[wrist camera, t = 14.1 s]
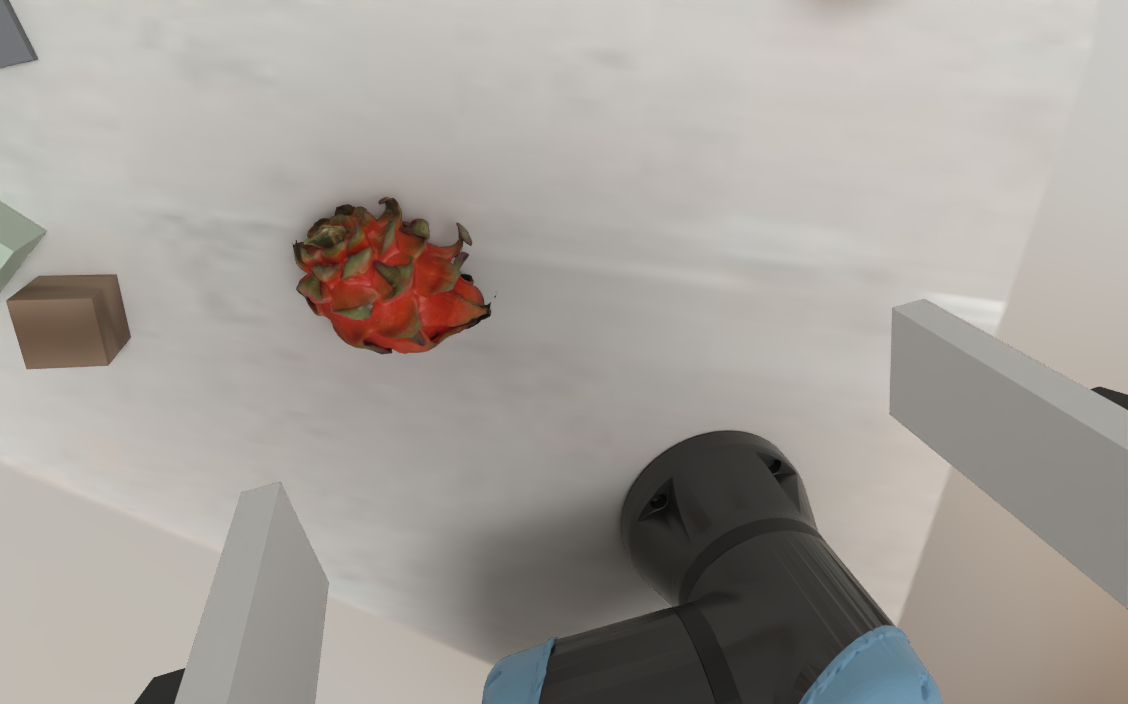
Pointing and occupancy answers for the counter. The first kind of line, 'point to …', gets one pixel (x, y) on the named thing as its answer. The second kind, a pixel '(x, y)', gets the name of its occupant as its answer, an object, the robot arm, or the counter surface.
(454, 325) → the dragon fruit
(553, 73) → the counter surface
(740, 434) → the robot arm
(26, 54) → the slate mat
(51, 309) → the walnut block
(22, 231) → the sage painted block
